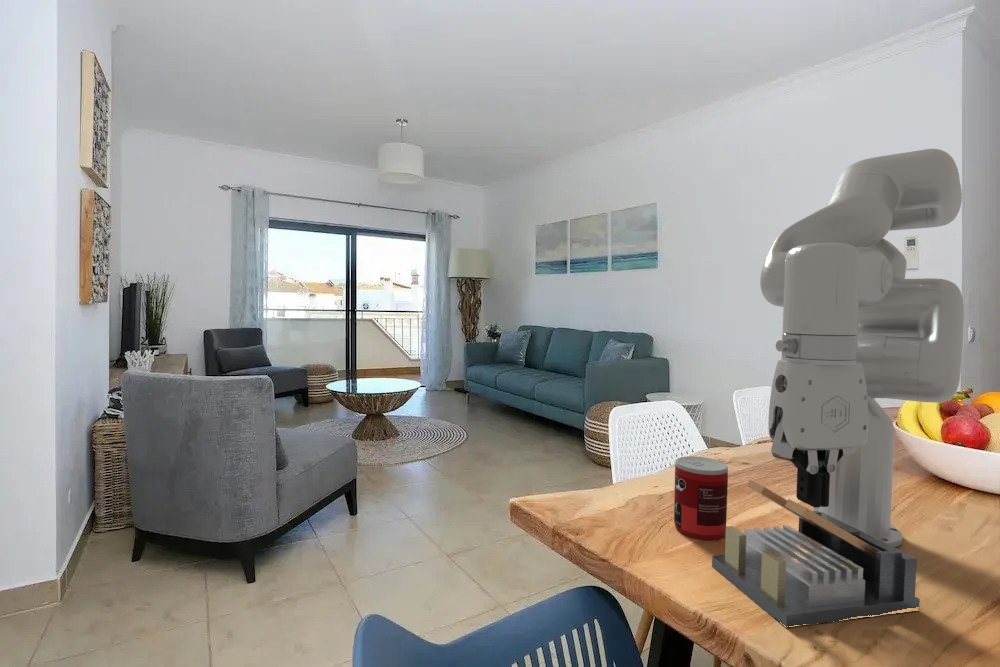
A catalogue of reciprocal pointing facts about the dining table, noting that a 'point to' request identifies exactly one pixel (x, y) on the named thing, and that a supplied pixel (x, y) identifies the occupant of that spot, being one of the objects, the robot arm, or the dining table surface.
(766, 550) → the heatsink block
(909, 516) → the dining table surface
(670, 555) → the dining table surface
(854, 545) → the near strap
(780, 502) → the strap
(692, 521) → the canned food
